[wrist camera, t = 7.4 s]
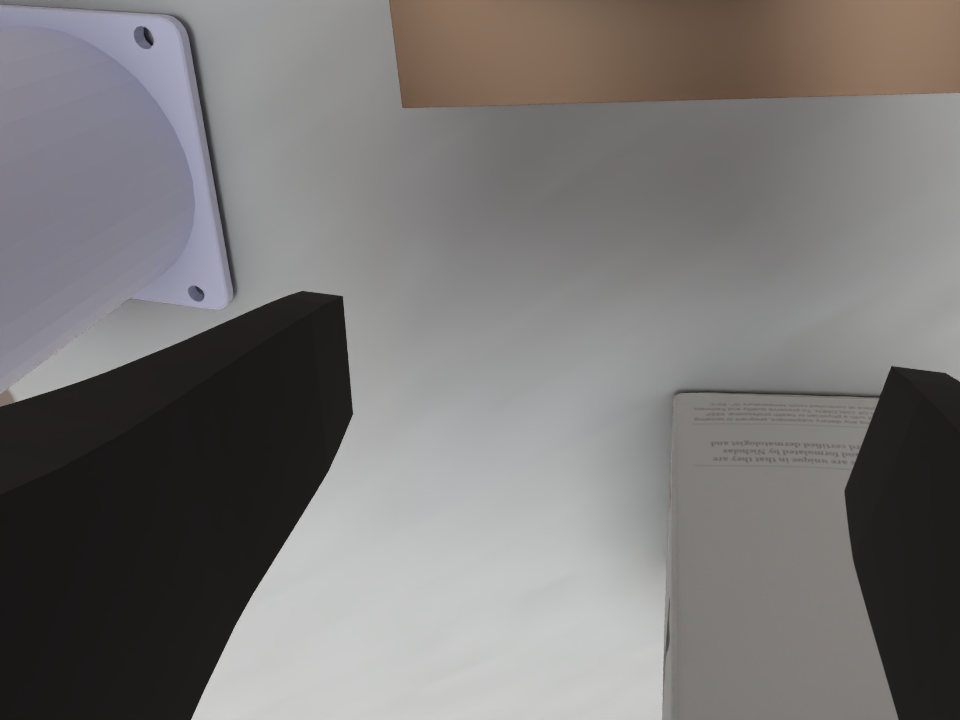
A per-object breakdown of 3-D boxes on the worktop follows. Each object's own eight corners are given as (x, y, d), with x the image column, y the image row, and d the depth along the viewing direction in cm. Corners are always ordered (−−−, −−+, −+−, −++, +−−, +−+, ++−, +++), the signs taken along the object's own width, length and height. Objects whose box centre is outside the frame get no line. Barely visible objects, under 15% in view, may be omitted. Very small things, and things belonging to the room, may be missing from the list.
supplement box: (668, 384, 21) (661, 886, 10) (968, 394, 19) (1330, 1013, 8) (662, 572, 24) (653, 1078, 14) (911, 595, 23) (1114, 1194, 12)
